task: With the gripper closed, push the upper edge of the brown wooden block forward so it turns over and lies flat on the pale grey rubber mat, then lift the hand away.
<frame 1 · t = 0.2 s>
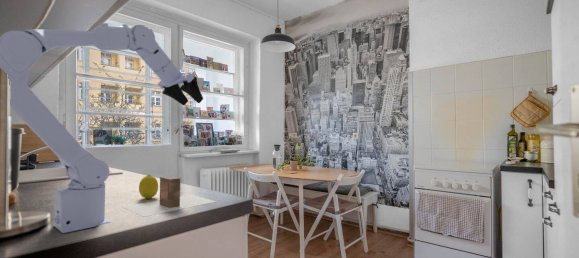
hand: (193, 102, 91), 31 cm above the worktop, tool tilted 45°, fingers open, 7 cm apart
mat: (171, 205, 88), on the worktop
lemon: (148, 200, 95), on the worktop
brown wooden block: (169, 205, 87), resting on mat
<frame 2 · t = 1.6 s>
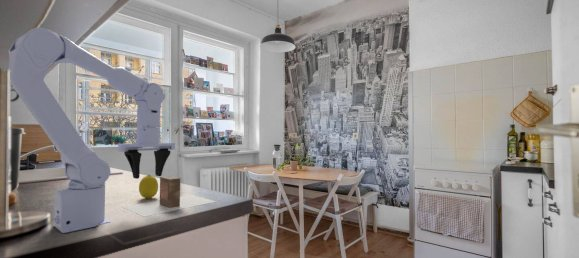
hand: (147, 176, 82), 9 cm above the worktop, tool pointing down, fingers open, 5 cm apart
nothing on the worktop moved.
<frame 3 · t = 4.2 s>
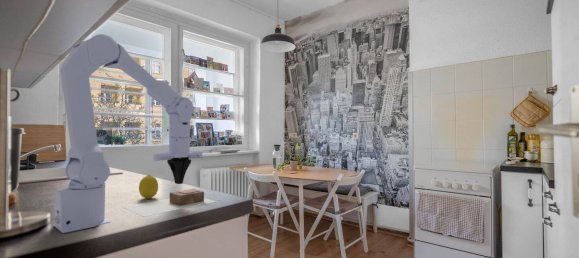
hand: (178, 183, 89), 6 cm above the worktop, tool pointing down, fingers closed
brown wooden block: (174, 199, 88), point 2 cm above the worktop, tilted 90°, touching mat
everything else where it was.
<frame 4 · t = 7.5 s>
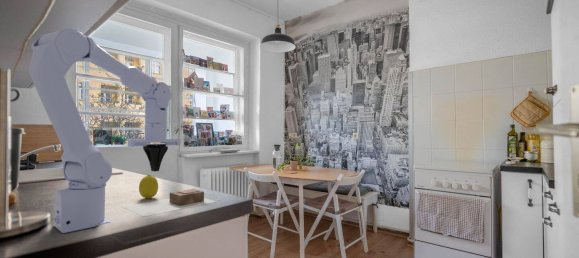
hand: (155, 170, 87), 10 cm above the worktop, tool pointing down, fingers closed
nothing on the worktop moved.
at the end: brown wooden block tilted 90°; brown wooden block inside the target area (3.0 cm from its centre), point 2.0 cm above the worktop; brown wooden block touching mat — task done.
